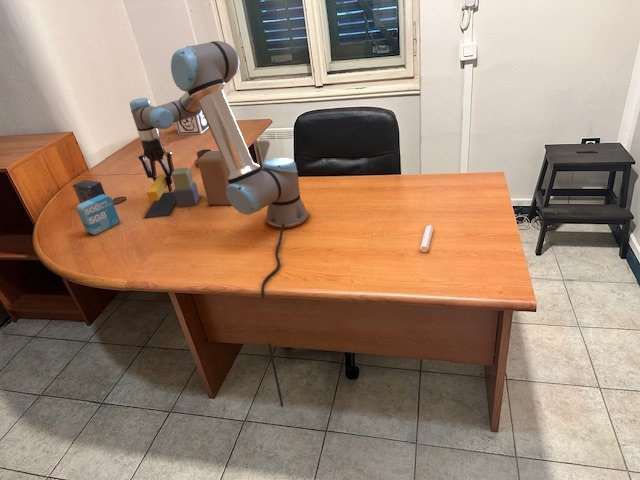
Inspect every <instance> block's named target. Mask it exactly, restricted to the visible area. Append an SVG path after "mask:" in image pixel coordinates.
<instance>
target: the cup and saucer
mask: <svg viewBox="0 0 640 480" xmlns="http://www.w3.org/2000/svg"><path fill="white" fill-rule="evenodd" d="M207 151H212V150H211V149H210V148H209V149H208V148H207V149H201V150H198V151H197V152H196V156H197V158H195V160H193V164H194V165H195V166H198V167H199V165H198V159H199V158H200V157H201V156H203V155H204V154H205V153H206V152H207Z"/></svg>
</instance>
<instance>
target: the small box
mask: <svg viewBox="0 0 640 480" xmlns="http://www.w3.org/2000/svg"><path fill="white" fill-rule="evenodd" d="M72 187H73V190H74V192H75V194H76V196H77V199H78V202H79V204H81V203H83V202H85V201H88V200H90V199H92V198H95V197H97V196H99V195H102V194H103V195H106V192H105V190H104V187H103V185H102V182H101V181H96V180H88V179H83V180H81V181H79V182H77V183H74V184H72Z"/></svg>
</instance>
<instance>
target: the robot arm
mask: <svg viewBox="0 0 640 480" xmlns="http://www.w3.org/2000/svg"><path fill="white" fill-rule="evenodd" d="M239 69H240V58H239V55H238V53H237V51H236V49H235V48H234V47H233V46H232V45H231V44H230V43H228V42H225V41H221V40H214V41H210V42H204V43H200V44H199V43H198V44H194V45H187V46H185V47H182V48H178V49H177V50H176V51H174V53H173V54H172V56H171V60H170V72H171V76H172V80H173V82H174V84H175V85H176V87H177V88H178V89H179V91H182V92H184V93H183V94H182V95H181V97H180V98H179V99H176V100H174V101H170V102H166V103H164V104H160V105H157V106H154V105H153V106H152V103H151V101H150V99H149V98H147V97H140V98H135V99H132V100H130V101H129V107H130V112H131V114H132V118H133V121H134V125H135V127H136V130H137V134H138V136H139V140H141V141H140V143H141V146H142V150H143V153H140V154H139V156H138V157H137V158H138V159H139V161H140V162H141V164H142V167H143V170H144V172H145V175H146V177H147V178H148V179H152V181H153V182H154V181H155V180H156V178H157V177H158V174H157V167H156V166H157V165H156V162H158V163H159V164H160V167H161V168H162V171H163V172H164V173H163V174H165V175H166V178H165V179H166V183H167V189H168V193H169V192H173V191H174V190H173V186H172V184H173V178H172V175H171V174H172V173H173V171H174V170H175V168H174V163H173V158H172V155H173V152H172V151H167V150H166V149H165V148H164V147H163V143H162V139H161V137H160V133H159V130H166V129H169V128H171V127H172V126H173V124H176V122H178V121H181V120H184V119H187V118H190V117H194V116H196V115H198V114H200V113H201V111H202V113H203V115H204V117H205V120H206V122H207V124H208V126H209V128H208V129H209V132H210V133H211V135H212V138H213V140H214V143H215V145H216V146H217V149H218V151H220V153H221V155H222V158H223V160H224V162H225V164H226V167H227V169H228V171H229V175H228V178H227V180H228V183H229V186H228V187H227V188H226V192H227V193H226V195H227V198H228V200H229V202H230V203H231V204H230V205H231V206H232V207H233V209H234V210H236V212H239V213H240V214H242V215H244V216H245V215H246V216H249V215H252V214H254V213H255V214H256V213H257V212H260V211H261V210H262V209H264V208H266V207H267V209H266V216H265V219H266V223H267V225H268V226H269V227H271V228H273V229H277V230H280V233H279V237H278V243H277V245H276V248H275V254H274V255H275V259H276V262H277V265H276V268H275V269H274V270H273V271H271V272H270V273H269V274H268V275H267V276H266V277H265V278H264V280H263V281H262V283H261V287H260V288H261V289H260V291H261V295H260V296H261V297H260V298H261V299H262V300H263V299H264V298H265V286H266V285H265V284H266V283H267V281H268V280H269V279H270V278H271V277H272V276H273V275H274V274H276V273H277V271H278V270H279V269H280V266H281V262H280V261H281V260H280V258H279V249H280V246H281V242H282V238H283V233H284V230H288V229H295V228H297V227H300V226H301V225H303V224H304V223H306V222H307V220H308V219H309V218H308V217H309V215H308V211H307V208H306V206H305V204H304V203H303V201H302V198H301V192H300V191H301V190H300V183H299V174H298V172H299V171H298V169H297V164H296V162H295V161H294V160H293V159H290V158H287V157H273V158H268V159H265V160H264V161H262V165H261V166H260V165H259V164H258V163H255V162H254V161H253V158H252V156H251V154H250V151H249V149H248V146H247V144H246V142H245V140H244V137H243V135H242V132H241V130H240V128H239V125H238V124H237V123H238V122H237V121H236V119H235V116H234V114H233V112H232V110H231V108H230V105H229V103H228V100H227V97H226V95H225V92H224V89H225V86H226V84H227V83H229V82H230V81H231V80H232V79H233V78H234V77H235V76H236V75H237V73H238V71H239ZM158 129H159V130H158ZM164 157H166V161H167V163H166V161H165V158H164ZM147 159H149V163H148V161H147ZM149 164H150V166H149ZM261 167H262V168H261ZM267 346H268V351H269V355H270V361H271V365H272V369H273V373H274V379H275V383H276V388H277V394H278V399H279V401H280V407H281V408H283V407H284V403H283V402H284V401H283V397H282V392H281V388H280V383H279V378H278V373H277V368H276V365H275V360H274V353H273V349H272V344H271V343H270V342H268V343H267Z"/></svg>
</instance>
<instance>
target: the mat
mask: <svg viewBox="0 0 640 480" xmlns="http://www.w3.org/2000/svg"><path fill="white" fill-rule="evenodd" d="M176 205H177V202H176V198H175V195H174V191H171V192H169V191H168V192H163V194H162V196H161V197H160V199H159V200H158V201H153V202H152V204H151V206H150V207H149V209H148V211H147V212H146V214H145V216H144V219H149V218H158V217H159V218H160V217H168V216H171V214H172V212H173V210H174V208H175V206H176Z"/></svg>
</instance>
